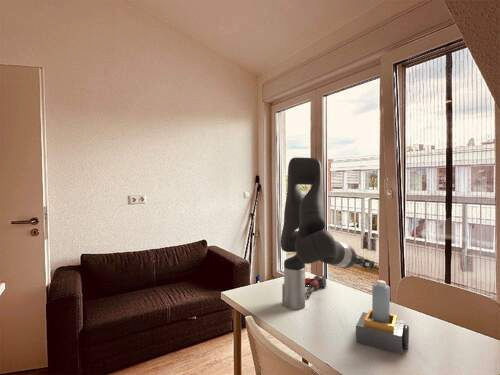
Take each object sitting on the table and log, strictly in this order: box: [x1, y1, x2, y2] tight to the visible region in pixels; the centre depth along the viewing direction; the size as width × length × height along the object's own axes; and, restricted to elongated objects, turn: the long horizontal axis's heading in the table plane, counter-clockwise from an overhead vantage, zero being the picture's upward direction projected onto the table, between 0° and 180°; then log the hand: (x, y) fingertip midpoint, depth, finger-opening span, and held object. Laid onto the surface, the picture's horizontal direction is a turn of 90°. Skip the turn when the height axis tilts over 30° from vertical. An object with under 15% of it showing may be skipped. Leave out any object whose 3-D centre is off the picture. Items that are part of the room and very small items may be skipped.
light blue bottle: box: [371, 279, 391, 324], centre depth 102 cm, size 6×6×15 cm
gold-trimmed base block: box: [355, 309, 410, 356], centre depth 102 cm, size 16×12×8 cm
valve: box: [305, 274, 327, 299], centre depth 151 cm, size 6×26×15 cm
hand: (356, 260), depth 102 cm, fingers open, 8 cm apart
